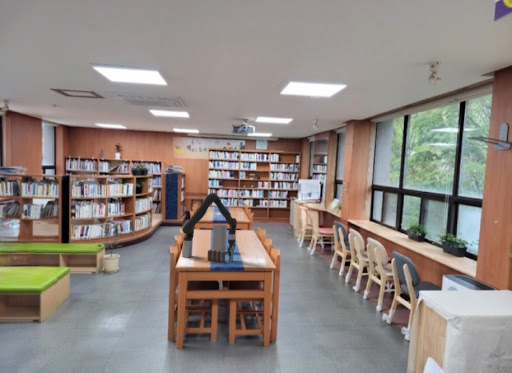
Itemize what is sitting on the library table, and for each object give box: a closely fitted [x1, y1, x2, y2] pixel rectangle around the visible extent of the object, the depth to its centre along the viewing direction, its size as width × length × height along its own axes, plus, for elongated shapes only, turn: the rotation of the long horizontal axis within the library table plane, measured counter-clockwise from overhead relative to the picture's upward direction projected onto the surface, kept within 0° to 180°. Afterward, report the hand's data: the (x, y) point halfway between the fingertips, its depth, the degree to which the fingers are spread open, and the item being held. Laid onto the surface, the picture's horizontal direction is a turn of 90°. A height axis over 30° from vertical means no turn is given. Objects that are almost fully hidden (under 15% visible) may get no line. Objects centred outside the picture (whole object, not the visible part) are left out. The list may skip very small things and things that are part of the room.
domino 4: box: [220, 252, 226, 264], centre depth 303 cm, size 2×5×10 cm, turn 158°
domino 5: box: [228, 250, 234, 263], centre depth 308 cm, size 2×5×10 cm, turn 158°
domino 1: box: [206, 249, 212, 262], centre depth 308 cm, size 2×5×10 cm, turn 158°
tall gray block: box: [211, 224, 228, 254], centre depth 338 cm, size 14×6×30 cm, turn 103°
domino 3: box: [215, 251, 221, 263], centre depth 304 cm, size 2×5×10 cm, turn 158°
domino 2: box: [211, 250, 217, 263], centre depth 306 cm, size 2×5×10 cm, turn 158°
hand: (231, 255), depth 308 cm, fingers closed on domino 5, 5 cm apart
